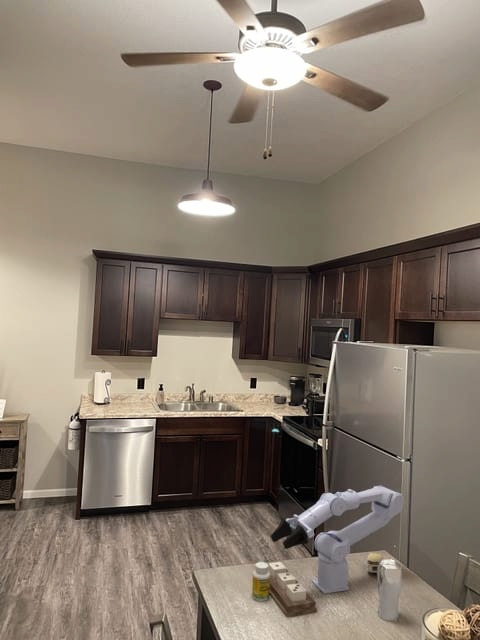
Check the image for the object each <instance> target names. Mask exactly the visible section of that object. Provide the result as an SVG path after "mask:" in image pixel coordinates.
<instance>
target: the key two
mask: <svg viewBox="0 0 480 640" xmlns="http://www.w3.org/2000/svg"><path fill="white" fill-rule="evenodd" d="M296 580H297V578H296V577H295V576H294V575H293V574H292V573H291V572H290V571H289V572H287V573H279V574H277V584H278V586H279V587H280V588H281V589H282V590H286V588H287V585H291V584H296Z"/></svg>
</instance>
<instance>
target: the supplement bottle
mask: <svg viewBox="0 0 480 640" xmlns="http://www.w3.org/2000/svg"><path fill="white" fill-rule="evenodd" d="M254 567H255V568H254V571H253V573H252V589H251V591H252V593H251V595H252V598H253V599H254V600H256V601H267V600H268V598H269V597H270V595H269V588H270V573H269V571H268V563H266V562H263V561H258V562H256V563H255V566H254Z"/></svg>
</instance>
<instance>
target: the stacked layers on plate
mask: <svg viewBox="0 0 480 640" xmlns="http://www.w3.org/2000/svg"><path fill="white" fill-rule="evenodd" d="M366 558H367V561H366V565H367V567H366V571H368V572H370V573H376V576H377V575H378V565H379V560H381V559H385V558H384V556H383V555H382V554H381V553H375V552H369V554H368V556H367V557H366Z"/></svg>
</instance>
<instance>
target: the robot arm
mask: <svg viewBox="0 0 480 640" xmlns="http://www.w3.org/2000/svg"><path fill="white" fill-rule="evenodd" d="M364 503H365V504H366V503H371V510H372V512H369V514H367V515H365V516H363V517H361V518H360V519H358V520H356V521H354V522H352V523H350V524H349V525H348V526H345V527H344V528H342V529H340V530H329V531H328V532H320V533H318V535H317V536H316V535H315V533H314V529H315V528H317V527H319V526H320V525H321V524H323V523H324V522H325V521H327V520H328V519H330V518H331V517H332V516H338V517H340V516H341V515H342V514H343V513H344V512H345V511H349V510H354V509H358V508H359V506H360V504H364ZM404 504H405V497H404V495H403V494H402V493H400V492H397V491H394V490H392V489H389V488H387V487H385V486H384V485H375V486H373V488H369V489H365V490H362V491H360V492H356V491H355V490H353V489H351V488H349V489H347V490H346V491H343V492H340V491H337V492H336V493H334V494H333V493H331V492H327V493H325V492H324V493H322V494H321V496H320V498H319V500H318V501H316V503H315V504H314V505H312V506H310V507H309V508H308V509H306V510H305V511H304V512H302V513H301V514H299V515H297V514H293V517H291V518H281V520H280V522H279V524H278V525H277V527H276V528H275V530H274V531H273V532H272V533H271V535H270V538H271V540H272V542H273V543H276V542H278V541H280V540H281V539H283V538H285V539H284V540H283V541H282V545H283V547H284V549H286V550H288V549H291V548H293V547H295V546H300V545H307V544H309V540H308V539H312V537H314V536H315V540H314V543H313V545H314V548H315V550H316V551H317V556H318V561H317V562H318V563H317V564H318V565H317V578H316V579H312V580H311V581H312V583H313V584H314V585H315V586H316V587H317V588H318V589H319V591H321V592H322V593H323V594H330V593H337V592H342V591H343V592H344V591H350V587H349V571H350V570H349V564H348V561H347V559H346V557H347V556H348V555H350V554H351V546H353V545H355V544H356V543H357V542H359V541H361V540H363V539H364V538H367V536H369V535H371V534H373V533H375V532H376V531H378V530H379V529H381V528H383V527H385V526H386V525H388V523H389V522H390V521H391V520H392V519H393V517H395V516H397V515H398V514H400V513H402V512H403V508H404ZM292 529H293V531H292Z"/></svg>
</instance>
